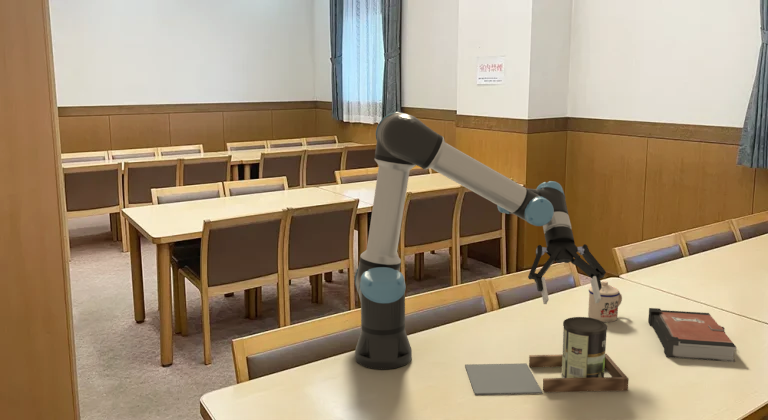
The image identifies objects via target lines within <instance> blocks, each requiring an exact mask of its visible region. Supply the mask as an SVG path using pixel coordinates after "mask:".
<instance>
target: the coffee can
mask: <svg viewBox="0 0 768 420" xmlns="http://www.w3.org/2000/svg"><path fill="white" fill-rule="evenodd" d="M562 326H563V333H562V334H563V335H562V354H563V356H562V367H561V374H560V377H561V378H597V377H605V354H606V349H607V348H606V346H607V331H608V325H607V322H602V321H600V320H597V319H593V318H589V316H588V317H586V316H574V317H569V318H566V319H564V320H563V322H562Z"/></svg>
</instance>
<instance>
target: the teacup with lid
mask: <svg viewBox="0 0 768 420" xmlns="http://www.w3.org/2000/svg"><path fill="white" fill-rule="evenodd" d="M601 285H602V288H601V289H600V290H599V291H600V295H601V300H600V301H599V303H595V299H594V295H593V290H592V286H590V287H589V289H588V309H587V311H588V312H587V316H588V318H593V319H597V320H600V321H602V322H604V323H612V322H614V321H617V320H618V315H619V307H620V305H621V304H622V301H623V295H622V294H621V292H620V290H619V289H618V288H617V287H614V286H613V285H611V284H609V282H608V281H607V280H601Z"/></svg>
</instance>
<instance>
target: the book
mask: <svg viewBox="0 0 768 420" xmlns="http://www.w3.org/2000/svg"><path fill="white" fill-rule="evenodd" d="M647 320H648V321H647V322H648V325H649V326H650V327H652V329H653V330H654V332H655V334H656V336H657V338H658V339H659V341H660V344H661V345H662V347H663V353H664V355H665V357H666V358H673V359H674V358H675V359H689V360H701V361H702V360H703V361H715V362H716V361H717V362H728V363H735V362H736V360H735V359H734V356H735V355H734V354H735V353H734V352H735V350H736V351H737V346H736V345H735V344H734V342H733V341H732V339H731V338H730V337H729V336H728V335H727V334H726V332H725V330H726V329H725V327H724V326H721V325H720V324H718V322H717V321H716V320H715V319H714V318H713V316H712V315H711V314H710V313H709V312H697V311H683V310H682V311H681V310H680V311H679V310H664V309H661V308H656V307H655V308H654V307H649V308H648V319H647Z"/></svg>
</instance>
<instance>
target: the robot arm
mask: <svg viewBox="0 0 768 420" xmlns="http://www.w3.org/2000/svg"><path fill="white" fill-rule="evenodd" d="M375 140H376V145H375V152H374V161H375V162H376V164H377V165H378V170H377V177H376V183H375V190H374V196H373V197H374V199H373V205H372V210H371V217H370V218H371V219H370V223H369V224H370V225H369V231H368V238H367V244H366V249H365V251H363V252H362V253H360V256H359V263H358V267H357V269H356V271H355V275H354V285H355V289H356V291H357V294H358V297H359V301H360V322H361V326H360V329H361V330H360V334H359V336H358V340H357V343H356V346H355V351H354V358H355V362H357V364H359V365H360V366H363V367H365V368H369V369H374V370H392V369H397V368H400V367H401V368H402V367H404V366H406V365H408V364H409V363H410V362H411V361H412V359H413V355H412V354H413V353H412V350H413V349H412V345H411V343H410V340H409V338H408V335H407V331H406V288H407V287H406V281H405V277H404V274H403V273H402V272H401V271H400V270H401V265H402V263H401V262H402V259H401V258H400V257H399V255H398V247H399V240H400V236H401V228H402V222H403V217H404V216H403V215H404V209H405V203H406V195H407V191H408V190H407V189H408V184H409V183H408V182H409V177H410V171H411V170H412V169H413V168H414V167H416V166H417V167H420V168H421V169H423V170H429V169H431V170H433V171H434V172H437V173H438V174H440V175H442V176H444V177H445V178H447V179H450V180H451V181H453V182H455V183H456V184H458V185H460V186H462V187H463V188H466V189H467V190H469V191H471V192H472V193H475V194H477V195H478V196H480V197H482V198H484V199H486V200H488V201H490V202H491V203H493V204H495V205H496V207H497V210H498V212H499V213H502V214H507V215H514V216H516V217H518V218H520V219H521V220H524V221H525V222H527V223H528V224H530V225H532V226H534V227H542V229H543V234H544V240H545V244H546V247H544V246H542V245H540V244H538V245H536V246H537V247H536V249H535V258H534V261H533V263H532V266H531V269H530V270H529V273H528V276H527V279H529V280H534V283H535V284H536V289H537V291H538V292H541V297H542V301H543V305H547V304H548V302H549V293H548V290H547V289H548V287H547V284H546V277H545V276H544V275H545V274H546V272H547V271H548V270H549V269H550V267H551V266H552V265H553V264H554V263H557V264H562V263H565V264H569V263H571V264H572V265H575V266H576V267H577V268H579V270H581V271H582V272H583V273H585V274H586V275H587V276H588V277H589V278H591V279H590V285H591V286H592V290H593V295H594V299H595V303H599V301H600V300H601V295H600V291H599V290H600V289H601V288H602V285H601V282H602V280H601V279H603V278H604V277H605V275H606V273H607V271H606V270H605V269H604V267H603V266H602V265H601V263H600V262H599V261H598V260H597V259H596V257H595V256H594V255H593V254H592V253H591V251H590V250H589V246H588V245H587V244H583V245H582V246H577V245H576V243H575V238H574V234H573V230H572V223H571V220H570V216H569V211H568V207H567V201H566V196H565V192H564V189H563V186H562V185H561V183H559V182H557V181H552V180H549V181H547V182H546V181H544V182H541V183H539V185H538V186H537V187H536V188H528V187H527V188H526V187H525V186H524V185H521V184H520V183H518V182H516V181H514V180H512V179H510V177H508V176H506V175H504V174H503V173H500V172H498V171H496V170H495V169H493V168H491V166H488V165H486V164H485V163H482V162H481V161H479V160H477V159H475V158H474V157H471V156H470V155H468V154H466V153H465V152H463V151H462V150H459V149H457V148H456V147H454V146H452V145H451V144H449V143H447V142H446V140H445V138H444V136H442V135H441V134H439V133H437V132H436V131H434V130H433V129H432V128H430V126H427V125H426V124H425V123H424V122H423V121H422V120H420V119H418V118H417V117H416V116H414V115H412V114H410V113H409V114H408V113H406V112H403V111H401V112H399V111H395V112H392V113H390V114H387V115H385V116H384V117H382V118H381V120H379V123H378V124H377V127H376V130H375ZM545 253H546V254H547V255H548V256H549V258H548V259H547V261H545V263H544V264H543V266H542V267H541V268H540V270H539V271H538V272H536V271H537V268H538V265H539V263H540V260H541V257H542V256H543V255H545ZM579 254H580V255H579ZM581 256H582V257H583V258H584V259H583V258H582V257H581ZM591 286H590V287H591Z"/></svg>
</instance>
